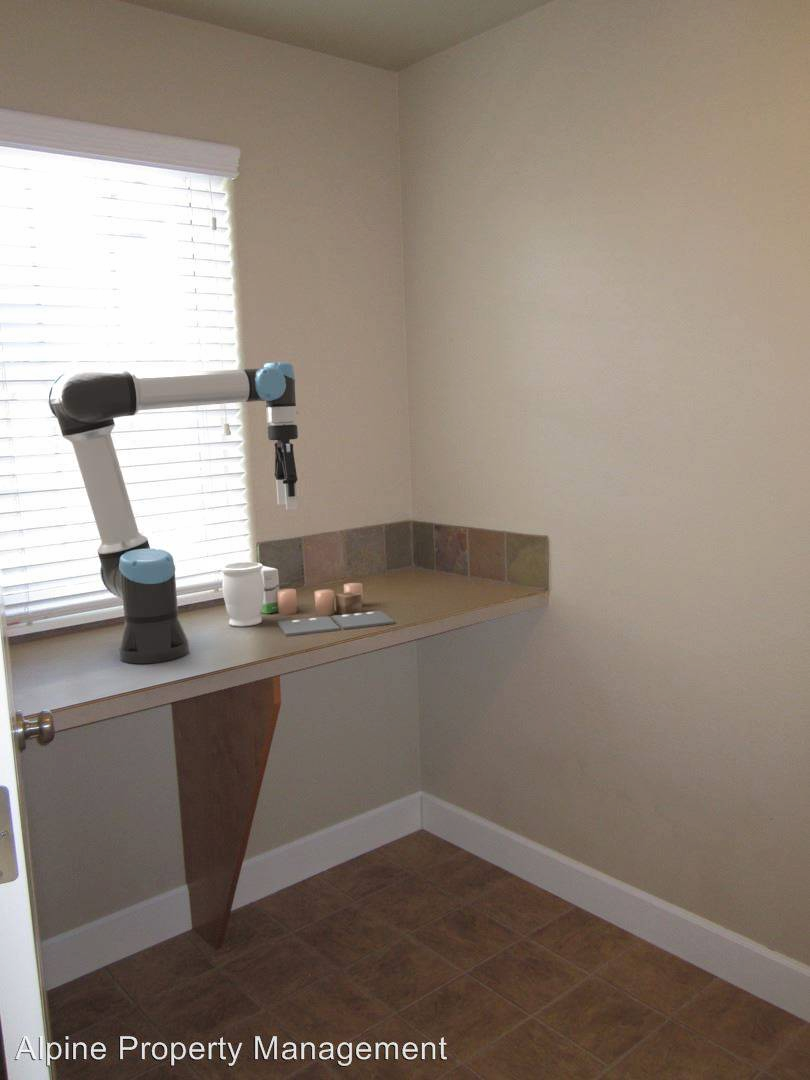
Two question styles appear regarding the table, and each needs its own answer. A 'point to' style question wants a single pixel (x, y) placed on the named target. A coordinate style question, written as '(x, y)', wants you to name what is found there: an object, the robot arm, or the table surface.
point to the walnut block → (348, 603)
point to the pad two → (307, 626)
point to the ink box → (270, 589)
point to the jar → (243, 593)
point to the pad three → (362, 619)
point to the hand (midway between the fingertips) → (287, 507)
